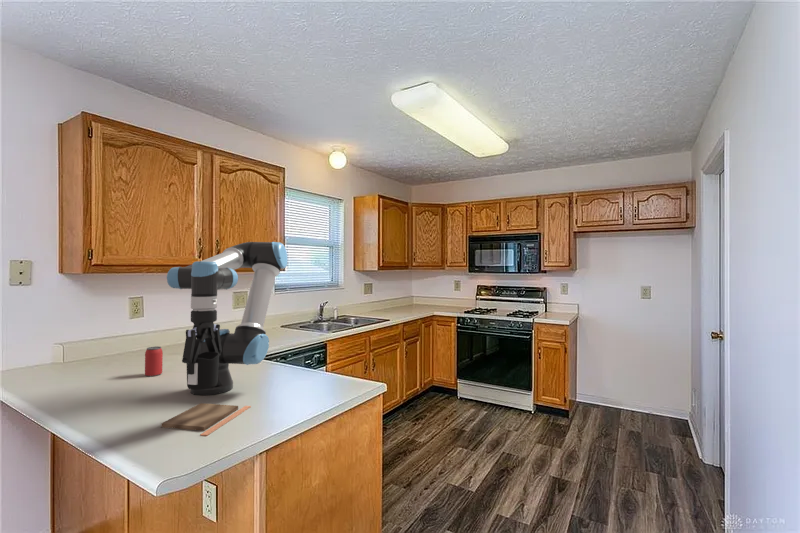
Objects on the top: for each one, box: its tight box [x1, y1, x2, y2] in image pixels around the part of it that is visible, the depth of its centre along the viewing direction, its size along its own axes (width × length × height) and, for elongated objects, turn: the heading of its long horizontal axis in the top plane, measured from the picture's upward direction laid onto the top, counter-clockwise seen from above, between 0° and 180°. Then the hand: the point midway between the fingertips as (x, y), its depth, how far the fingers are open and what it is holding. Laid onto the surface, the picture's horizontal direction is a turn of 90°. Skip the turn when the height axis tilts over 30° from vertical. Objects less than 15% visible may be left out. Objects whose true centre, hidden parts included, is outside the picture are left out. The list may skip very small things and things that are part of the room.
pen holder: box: [186, 352, 219, 390], centre depth 125 cm, size 9×9×10 cm
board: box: [161, 402, 239, 432], centre depth 125 cm, size 14×18×1 cm
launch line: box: [200, 405, 252, 437], centre depth 124 cm, size 2×24×1 cm, turn 171°
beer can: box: [144, 346, 164, 377], centre depth 174 cm, size 7×7×12 cm
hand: (202, 379), depth 125 cm, fingers closed on pen holder, 9 cm apart
